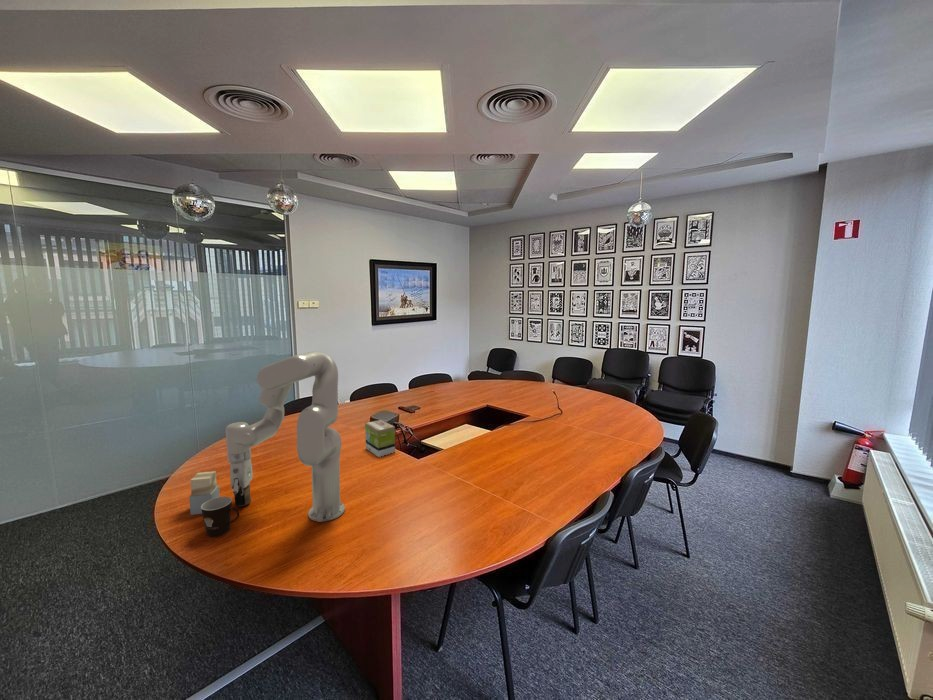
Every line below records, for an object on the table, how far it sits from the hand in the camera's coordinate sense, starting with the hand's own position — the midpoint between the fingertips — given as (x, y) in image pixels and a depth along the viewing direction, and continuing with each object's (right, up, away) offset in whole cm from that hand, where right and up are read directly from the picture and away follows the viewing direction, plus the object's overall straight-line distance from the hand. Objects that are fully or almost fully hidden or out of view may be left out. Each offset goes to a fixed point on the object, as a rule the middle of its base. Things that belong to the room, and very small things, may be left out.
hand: (242, 500), depth 141 cm
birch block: (-12, +5, -4) cm, 14 cm away
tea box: (+39, +4, +55) cm, 68 cm away
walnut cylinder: (0, -1, 0) cm, 1 cm away
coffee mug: (+3, -4, -17) cm, 18 cm away
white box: (-12, -2, -3) cm, 13 cm away
